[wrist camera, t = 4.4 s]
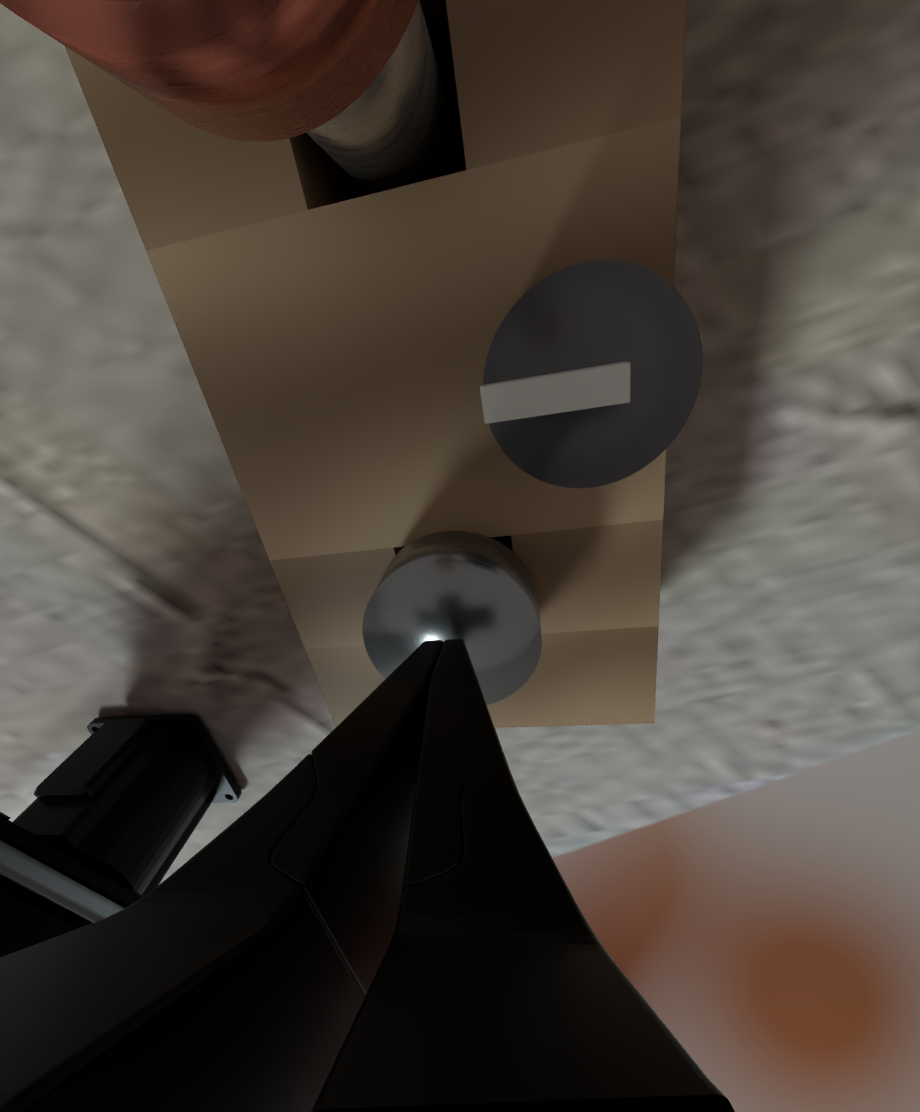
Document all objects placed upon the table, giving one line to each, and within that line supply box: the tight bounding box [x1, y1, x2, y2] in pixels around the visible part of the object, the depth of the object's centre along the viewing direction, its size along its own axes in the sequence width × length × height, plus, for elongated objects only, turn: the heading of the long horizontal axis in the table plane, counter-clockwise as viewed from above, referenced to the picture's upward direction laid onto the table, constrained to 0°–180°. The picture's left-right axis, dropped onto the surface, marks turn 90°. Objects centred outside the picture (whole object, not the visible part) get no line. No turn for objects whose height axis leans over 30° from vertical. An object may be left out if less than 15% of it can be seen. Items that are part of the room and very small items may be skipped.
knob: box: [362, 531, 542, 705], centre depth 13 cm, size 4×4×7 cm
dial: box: [480, 260, 702, 488], centre depth 7 cm, size 3×3×3 cm
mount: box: [65, 0, 686, 728], centre depth 12 cm, size 20×10×5 cm, turn 10°
